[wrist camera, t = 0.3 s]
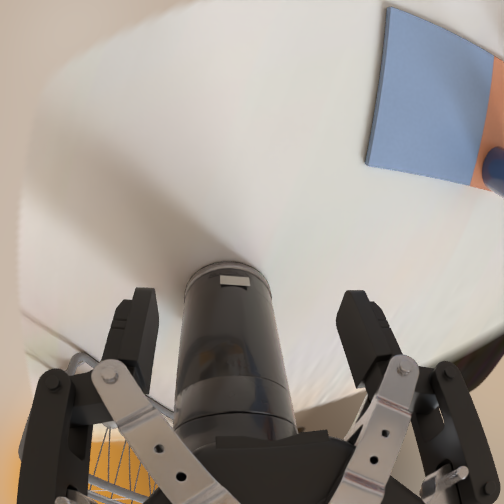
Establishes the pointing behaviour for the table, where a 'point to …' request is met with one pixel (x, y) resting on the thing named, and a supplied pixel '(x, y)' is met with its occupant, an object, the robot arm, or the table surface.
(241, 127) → the table surface
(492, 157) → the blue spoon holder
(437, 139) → the sorting board
